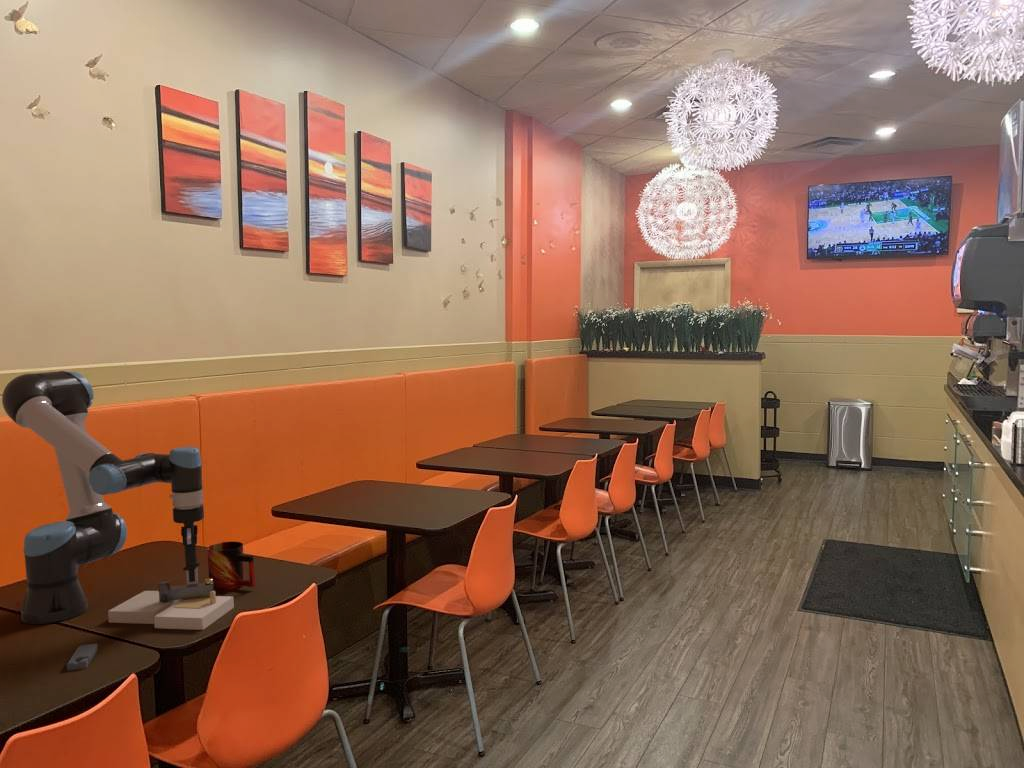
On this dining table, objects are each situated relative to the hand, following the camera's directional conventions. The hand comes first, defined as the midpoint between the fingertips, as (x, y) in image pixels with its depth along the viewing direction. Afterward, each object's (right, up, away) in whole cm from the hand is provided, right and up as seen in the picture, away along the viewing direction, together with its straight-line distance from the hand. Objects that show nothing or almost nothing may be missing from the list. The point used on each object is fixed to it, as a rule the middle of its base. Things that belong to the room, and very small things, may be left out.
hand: (192, 591), depth 202 cm
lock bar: (-1, -1, -2) cm, 3 cm away
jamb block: (-10, -5, -3) cm, 12 cm away
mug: (+5, -3, +16) cm, 17 cm away
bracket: (-12, -8, -31) cm, 34 cm away
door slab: (+4, -5, -7) cm, 9 cm away
